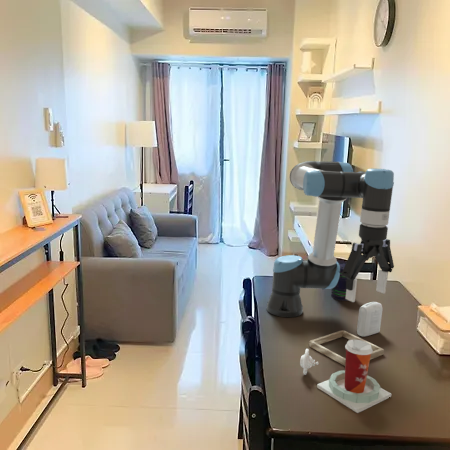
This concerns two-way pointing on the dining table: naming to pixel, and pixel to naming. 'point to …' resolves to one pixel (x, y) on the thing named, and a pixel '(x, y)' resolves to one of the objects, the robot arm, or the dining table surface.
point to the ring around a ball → (307, 362)
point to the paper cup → (357, 365)
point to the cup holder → (354, 400)
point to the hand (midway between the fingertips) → (365, 296)
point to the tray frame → (315, 343)
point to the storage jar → (340, 286)
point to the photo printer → (369, 319)
